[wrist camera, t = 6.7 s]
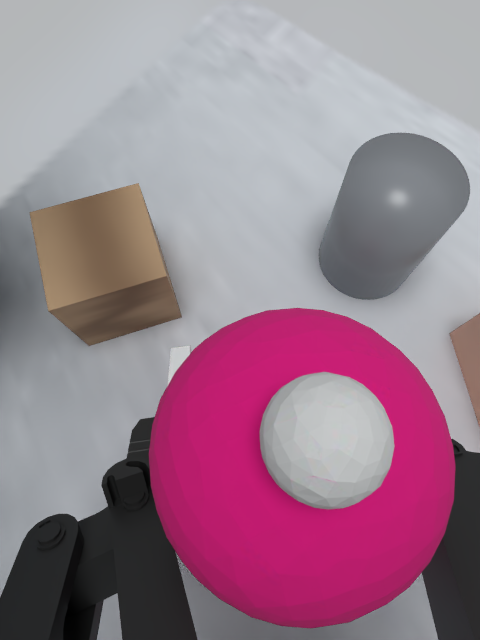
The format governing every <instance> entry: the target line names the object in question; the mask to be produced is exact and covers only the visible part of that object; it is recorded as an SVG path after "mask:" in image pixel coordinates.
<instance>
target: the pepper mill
mask: <svg viewBox="0 0 480 640" xmlns="http://www.w3.org/2000/svg"><path fill="white" fill-rule="evenodd" d="M149 466H150V481H151V489H152V493H153V497H154V501H155V506H156V510H157V513H158V515H159V518H160V521H161V523H162V526H163V529H164V531H165V534H166V537H167V539H168V540H169V542H170V543H171V545H172V546H173V548H174V550H175V551H176V553H177V554H178V556H179V558H180V559H181V561H182V562H183V563H184V565H185V566H186V567H187V568H188V569H189V571H190V572H191V573H192V574H193V575H194V577H195V578H196V579H197V580H198V581H199V582H200V583H201V584H203V585H204V586H205V587H206V588H207V589H208V590H210V591H211V592H212V593H213V594H214V595H216V596H217V597H218V598H219V599H221V600H222V601H224V602H226V603H227V604H229V605H231V606H233V607H234V608H236V609H238V610H240V611H241V612H243V613H245V614H247V615H248V616H250V617H252V618H256V619H259V620H263V621H266V622H270V623H273V624H276V625H280V626H287V627H300V628H316V627H323V626H329V625H336V624H342V623H348V622H351V621H353V620H355V619H357V618H359V617H362V616H364V615H366V614H368V613H370V612H372V611H374V610H376V609H378V608H380V607H382V606H384V605H386V604H388V603H389V602H390V601H392V600H393V599H394V598H396V597H397V596H398V595H399V594H401V593H402V592H403V591H405V590H406V589H407V588H409V587H410V586H411V584H412V583H413V582H414V581H415V580H416V578H417V577H418V576H419V575H420V574H421V572H422V571H423V570H424V569H425V568H426V566H427V565H428V564H429V563H430V561H431V559H432V557H433V555H434V553H435V551H436V550H437V548H438V546H439V544H440V542H441V540H442V538H443V536H444V534H445V531H446V527H447V524H448V520H449V516H450V512H451V509H452V505H453V501H454V487H455V458H454V450H453V444H452V441H451V437H450V434H449V430H448V426H447V423H446V419H445V416H444V414H443V412H442V410H441V408H440V406H439V404H438V401H437V399H436V397H435V395H434V393H433V391H432V389H431V388H430V386H429V385H428V383H427V382H426V380H425V379H424V377H423V376H422V374H421V373H420V371H419V370H418V369H417V368H416V366H415V365H414V364H413V363H412V362H411V361H410V360H409V359H408V358H407V357H406V356H405V355H404V354H403V353H402V352H401V351H400V350H399V349H398V348H396V347H395V346H394V345H392V344H391V343H390V342H388V341H387V340H386V339H384V338H383V337H382V336H380V335H379V334H378V333H376V332H375V331H374V330H372V329H371V328H369V327H367V326H365V325H363V324H361V323H359V322H357V321H355V320H353V319H351V318H348V317H346V316H342V315H338V314H335V313H331V312H327V311H324V310H314V309H302V308H292V309H280V310H268V311H264V312H261V313H258V314H255V315H251V316H248V317H245V318H243V319H241V320H239V321H236V322H234V323H232V324H230V325H228V326H225V327H223V328H222V329H220V330H219V331H217V332H216V333H214V334H213V335H211V336H210V337H209V338H207V339H206V340H204V341H203V342H202V343H201V344H200V345H199V346H197V347H196V348H195V349H194V350H193V351H192V352H191V353H190V355H189V356H188V357H187V358H186V359H185V361H184V362H183V363H182V364H181V366H180V367H179V368H178V369H177V370H176V372H175V374H174V375H173V377H172V379H171V381H170V383H169V384H168V386H167V388H166V390H165V392H164V394H163V395H162V397H161V399H160V402H159V405H158V409H157V412H156V415H155V418H154V421H153V425H152V431H151V440H150V448H149Z"/></svg>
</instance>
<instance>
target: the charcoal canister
mask: <svg viewBox="0 0 480 640" xmlns="http://www.w3.org/2000/svg"><path fill="white" fill-rule="evenodd" d="M469 195H470V184H469V179H468V176H467V173H466V171H465V169H464V167H463V165H462V164H461V162H460V161H459V160H458V158H457V157H456V156H455V155H454V154H453V153H452V152H451V151H450V150H448V149H447V148H446V147H444V146H443V145H441V144H439V143H438V142H436V141H434V140H432V139H430V138H427V137H424V136H420V135H416V134H410V133H390V134H384V135H381V136H378V137H375V138H373V139H371V140H369V141H367V142H366V143H364V144H363V145H362V146H361V147H360V148H359V149H358V150H357V151H356V152H355V154H354V155H353V156H352V159H351V161H350V163H349V166H348V169H347V172H346V174H345V177H344V180H343V183H342V186H341V189H340V191H339V194H338V197H337V200H336V203H335V206H334V208H333V211H332V214H331V217H330V220H329V223H328V226H327V228H326V231H325V234H324V237H323V240H322V243H321V246H320V249H319V262H320V267H321V270H322V272H323V274H324V276H325V277H326V279H327V280H328V281H329V282H330V284H331V285H333V286H334V287H335V288H336V289H337V290H339V291H340V292H342V293H344V294H346V295H348V296H351V297H354V298H358V299H367V300H370V299H378V298H382V297H385V296H387V295H389V294H391V293H393V292H394V291H396V290H397V289H398V288H399V287H400V286H401V284H402V283H403V282H404V281H405V280H406V279H407V277H408V276H409V275H410V274H411V273H412V271H413V270H414V269H415V268H416V267H417V266H418V264H419V263H420V262H421V261H422V260H423V259H424V257H425V256H426V255H427V254H428V253H429V251H430V250H431V249H432V248H433V247H434V246H435V244H436V243H437V242H438V241H439V240H440V239H441V237H442V236H443V235H444V234H445V233H446V231H447V230H448V229H449V228H450V227H451V226H452V224H453V223H454V222H455V221H456V220H457V219H458V217H459V216H460V215H461V214H462V212H463V211H464V209H465V207H466V206H467V203H468V200H469Z"/></svg>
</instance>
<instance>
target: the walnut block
mask: <svg viewBox="0 0 480 640" xmlns="http://www.w3.org/2000/svg"><path fill="white" fill-rule="evenodd" d="M30 217H31V222H32V228H33V233H34V238H35V243H36V249H37V254H38V259H39V264H40V270H41V275H42V280H43V285H44V290H45V296H46V301H47V306H48V311H49V312H50V313H51V314H53V315H54V316H55V317H56V318H57V319H58V320H60V321H61V322H62V323H63V324H64V325H65V326H67V327H68V328H69V329H70V330H71V331H72V332H74V333H75V334H76V335H77V336H78V337H79V338H81V339H82V340H83V341H84V342H85V343H86V344H88V345H89V346H90V345H94V344H97V343H100V342H103V341H107V340H110V339H113V338H116V337H119V336H123V335H126V334H129V333H132V332H136V331H139V330H142V329H145V328H148V327H152V326H155V325H158V324H161V323H165V322H168V321H171V320H174V319H178V318H181V317H182V316H181V313H180V309H179V306H178V303H177V300H176V296H175V293H174V290H173V287H172V283H171V280H170V277H169V274H168V271H167V267H166V264H165V261H164V258H163V254H162V251H161V248H160V245H159V241H158V238H157V235H156V232H155V230H154V227H153V224H152V221H151V218H150V215H149V212H148V209H147V206H146V204H145V201H144V198H143V195H142V192H141V189H140V186H139V183H137V184H134V185H130V186H126V187H122V188H119V189H115V190H111V191H108V192H104V193H100V194H96V195H93V196H89V197H85V198H82V199H78V200H74V201H70V202H67V203H63V204H59V205H56V206H52V207H48V208H44V209H41V210H37V211H33V212H30Z"/></svg>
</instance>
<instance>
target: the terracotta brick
mask: <svg viewBox="0 0 480 640" xmlns="http://www.w3.org/2000/svg"><path fill="white" fill-rule="evenodd" d="M449 334H450V337H451V340H452V343H453V346H454V349H455V352H456V355H457V358H458V362H459V365H460V368H461V371H462V374H463V377H464V380H465V383H466V386H467V389H468V392H469V395H470V399H471V402H472V405H473V408H474V411H475V414H476V417H477V420H478V423H479V426H480V313H479V314H478V315H476V316H475V317H473V318H472V319H470V320H469V321H467V322H466V323H464V324H463V325H461V326H460V327H458V328H457V329H455V330H454V331H452V332H451V333H449Z"/></svg>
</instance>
